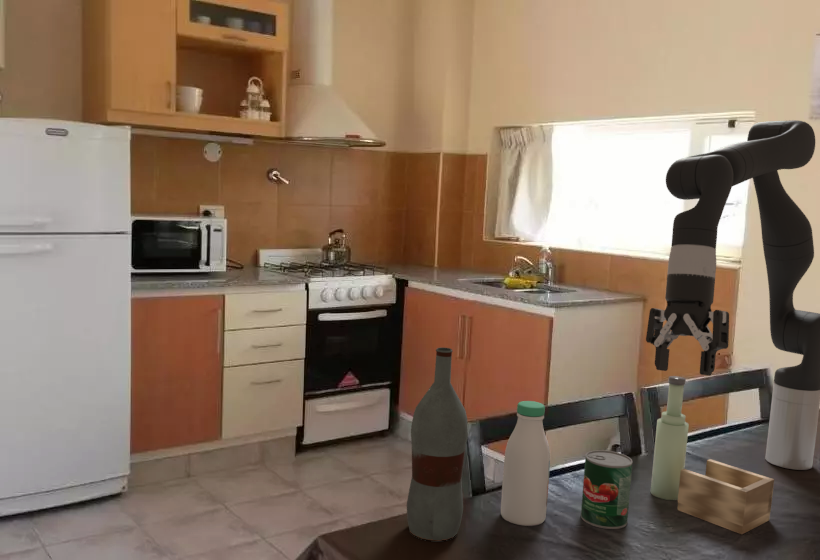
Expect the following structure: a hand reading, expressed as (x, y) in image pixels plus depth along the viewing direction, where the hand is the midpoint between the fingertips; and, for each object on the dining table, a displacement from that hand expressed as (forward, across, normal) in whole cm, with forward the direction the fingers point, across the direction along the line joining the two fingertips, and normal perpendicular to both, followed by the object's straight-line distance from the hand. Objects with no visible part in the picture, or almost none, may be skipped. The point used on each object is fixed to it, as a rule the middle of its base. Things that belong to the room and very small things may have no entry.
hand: (682, 372), depth 129 cm
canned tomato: (+27, +12, +2) cm, 29 cm away
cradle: (+24, +3, -19) cm, 31 cm away
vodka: (+30, +22, +31) cm, 48 cm away
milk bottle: (+28, +19, +14) cm, 37 cm away
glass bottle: (+23, +14, -17) cm, 32 cm away
